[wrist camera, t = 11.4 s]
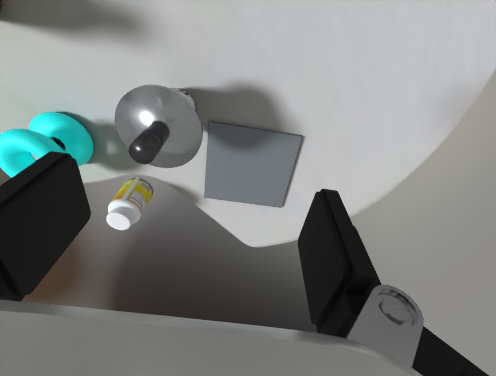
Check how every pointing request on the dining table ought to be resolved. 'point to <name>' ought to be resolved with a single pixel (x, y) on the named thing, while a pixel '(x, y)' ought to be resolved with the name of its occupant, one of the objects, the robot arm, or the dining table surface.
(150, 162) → the lid
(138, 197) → the supplement bottle
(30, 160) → the donuts
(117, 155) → the dining table surface
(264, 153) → the mat
